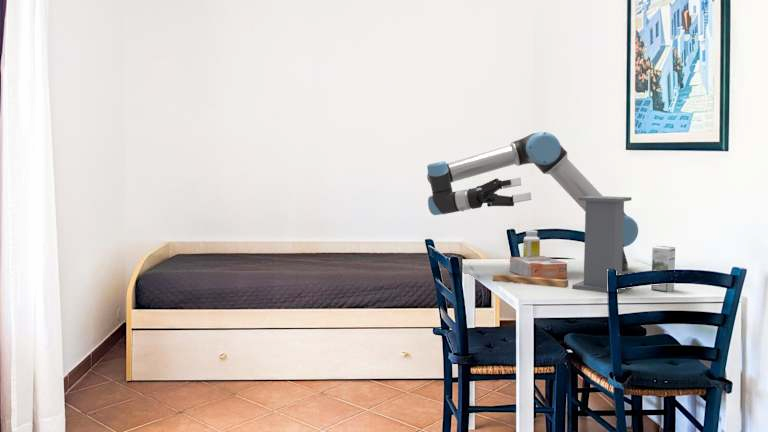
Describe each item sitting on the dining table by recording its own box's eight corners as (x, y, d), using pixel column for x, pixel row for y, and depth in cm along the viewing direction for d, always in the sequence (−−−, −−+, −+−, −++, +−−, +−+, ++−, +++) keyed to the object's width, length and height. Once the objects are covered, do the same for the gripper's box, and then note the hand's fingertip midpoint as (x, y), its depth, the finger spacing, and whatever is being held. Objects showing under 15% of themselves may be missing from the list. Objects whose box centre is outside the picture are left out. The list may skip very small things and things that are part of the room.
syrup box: (674, 289, 261) (676, 246, 260) (667, 292, 257) (669, 248, 256) (657, 287, 265) (659, 245, 264) (650, 290, 261) (652, 246, 260)
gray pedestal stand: (572, 288, 263) (574, 197, 261) (586, 282, 275) (588, 195, 272) (620, 293, 254) (622, 199, 252) (632, 287, 266) (635, 197, 263)
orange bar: (496, 273, 281) (496, 280, 281) (493, 275, 278) (492, 282, 278) (568, 279, 268) (568, 287, 268) (565, 281, 265) (564, 288, 265)
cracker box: (543, 254, 302) (568, 262, 282) (543, 270, 303) (567, 279, 283) (509, 255, 299) (531, 264, 279) (509, 271, 300) (531, 280, 280)
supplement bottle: (542, 261, 329) (542, 230, 328) (535, 263, 323) (536, 231, 322) (527, 259, 333) (527, 229, 332) (520, 261, 327) (521, 230, 326)
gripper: (480, 220, 299) (535, 211, 291) (458, 195, 278) (516, 184, 270) (479, 202, 302) (533, 192, 294) (457, 176, 281) (515, 165, 273)
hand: (525, 188), depth 282 cm, fingers open, 13 cm apart
